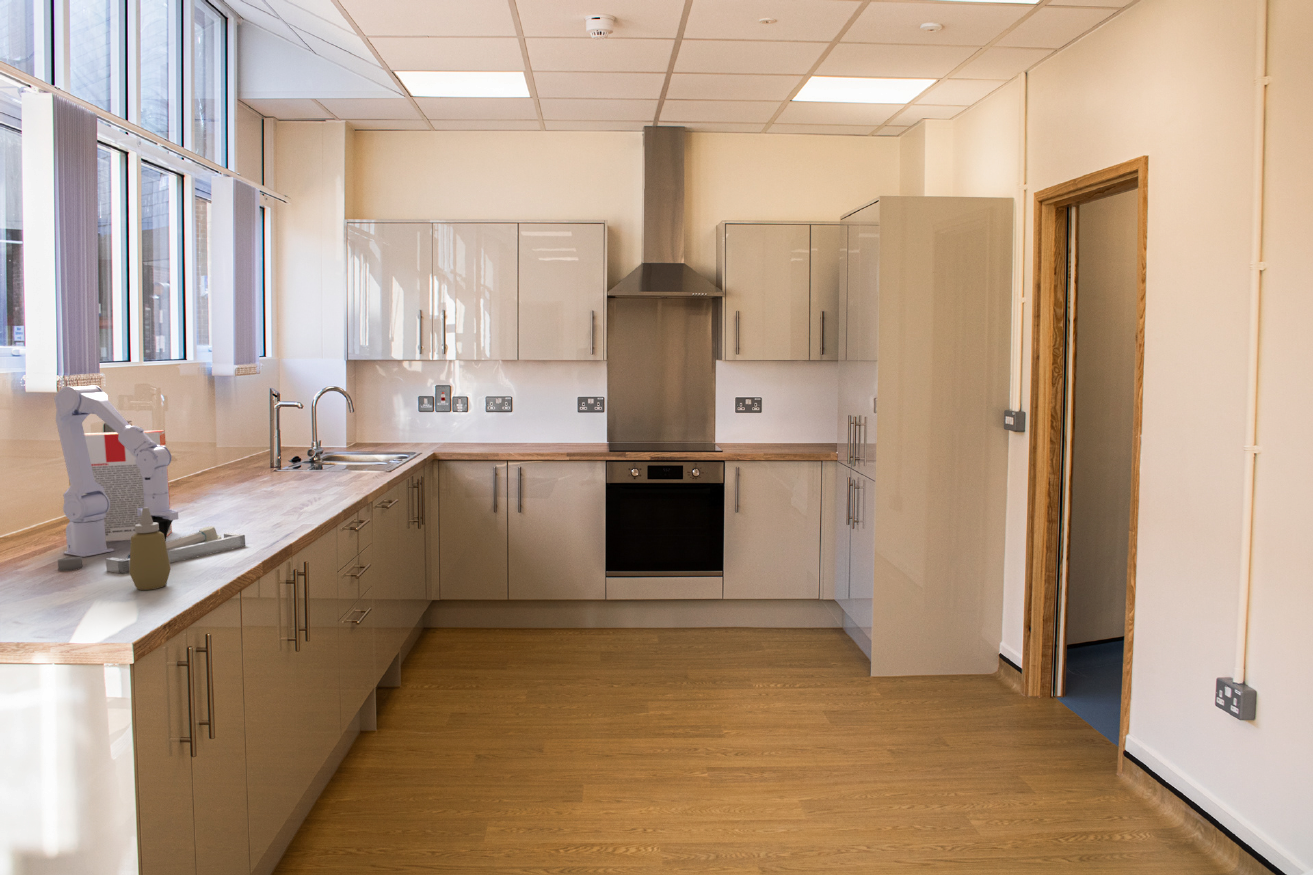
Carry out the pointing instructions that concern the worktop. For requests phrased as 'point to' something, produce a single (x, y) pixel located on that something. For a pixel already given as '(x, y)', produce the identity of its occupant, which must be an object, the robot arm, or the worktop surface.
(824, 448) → the worktop surface
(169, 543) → the white handheld wand
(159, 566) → the squeeze bottle
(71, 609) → the worktop surface
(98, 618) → the worktop surface
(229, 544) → the curved pull handle
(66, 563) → the smooth gray pebble
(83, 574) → the worktop surface
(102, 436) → the pasta box
